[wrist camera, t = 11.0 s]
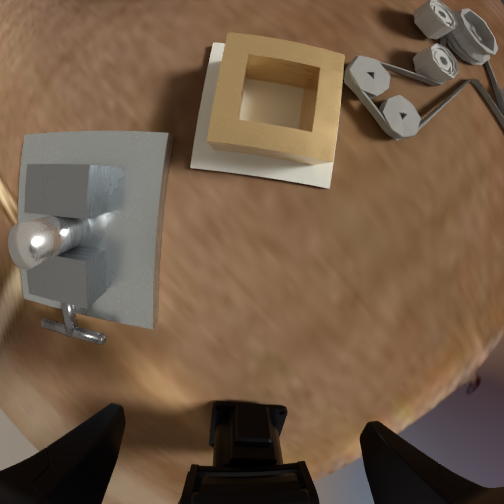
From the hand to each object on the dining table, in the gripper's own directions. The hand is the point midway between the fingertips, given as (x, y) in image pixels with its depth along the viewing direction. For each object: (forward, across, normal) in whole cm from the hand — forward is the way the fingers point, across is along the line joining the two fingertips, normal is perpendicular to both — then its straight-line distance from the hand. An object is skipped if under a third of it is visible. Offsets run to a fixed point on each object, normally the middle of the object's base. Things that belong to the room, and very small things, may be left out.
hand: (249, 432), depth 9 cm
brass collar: (+12, 0, -13) cm, 17 cm away
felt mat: (+12, 0, -13) cm, 18 cm away
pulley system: (+13, -18, -22) cm, 31 cm away
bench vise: (+12, +12, -4) cm, 17 cm away
